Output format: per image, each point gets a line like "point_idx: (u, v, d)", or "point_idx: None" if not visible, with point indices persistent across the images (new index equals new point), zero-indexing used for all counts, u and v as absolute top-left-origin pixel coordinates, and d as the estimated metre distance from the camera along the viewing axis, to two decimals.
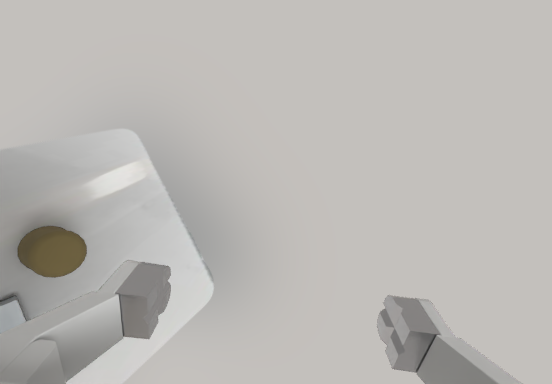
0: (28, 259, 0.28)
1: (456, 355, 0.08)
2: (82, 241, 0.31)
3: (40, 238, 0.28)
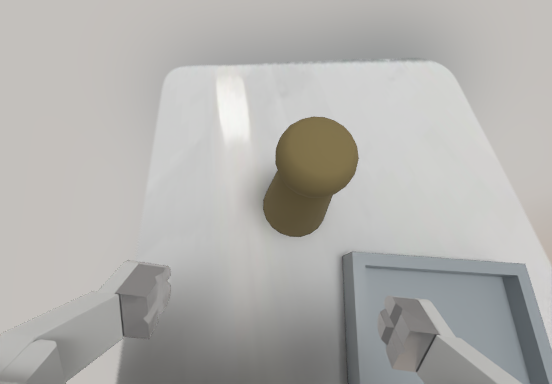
0: (310, 189, 0.15)
1: (456, 355, 0.08)
2: None
3: (281, 162, 0.16)
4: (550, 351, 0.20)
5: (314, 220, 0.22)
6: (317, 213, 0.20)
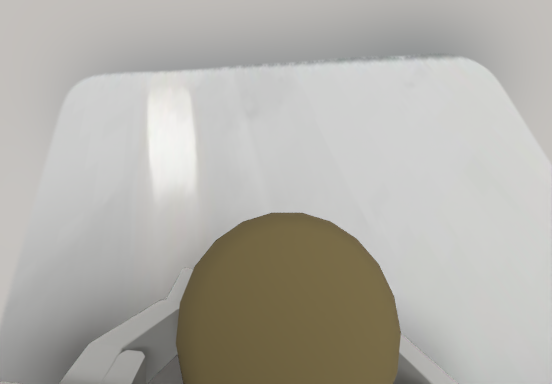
0: None
1: None
2: (271, 216, 0.06)
3: (182, 372, 0.05)
4: None
5: None
6: None
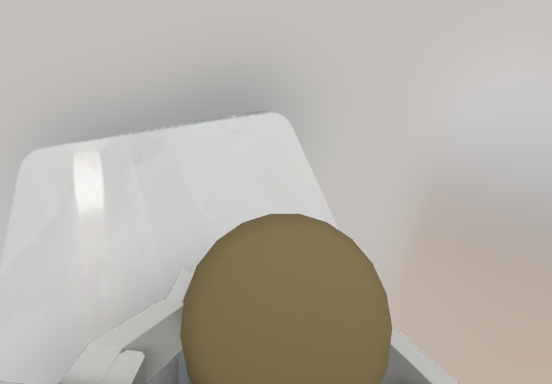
0: None
1: None
2: (270, 217, 0.07)
3: (186, 363, 0.06)
4: None
5: None
6: None
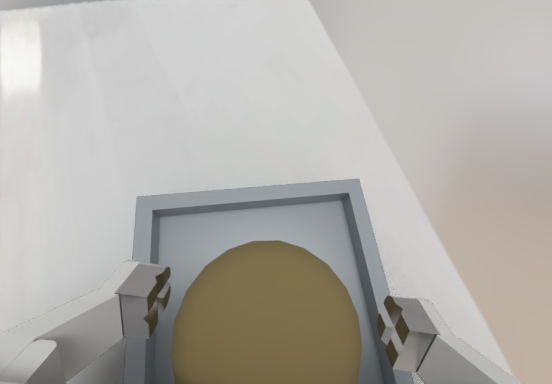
0: None
1: (456, 355, 0.08)
2: (252, 245, 0.07)
3: (175, 380, 0.06)
4: (382, 272, 0.16)
5: None
6: None
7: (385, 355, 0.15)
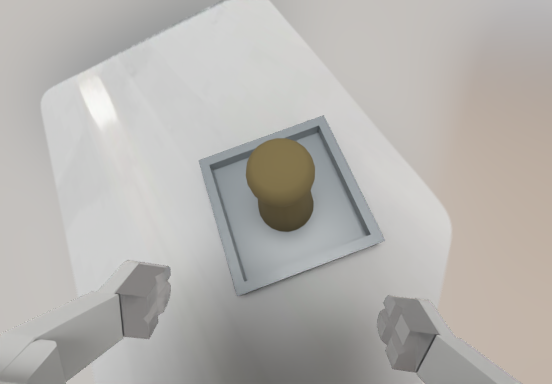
0: (280, 203, 0.19)
1: (456, 355, 0.08)
2: (266, 141, 0.20)
3: (252, 188, 0.19)
4: (346, 164, 0.28)
5: (302, 215, 0.25)
6: (301, 210, 0.24)
7: (356, 206, 0.27)
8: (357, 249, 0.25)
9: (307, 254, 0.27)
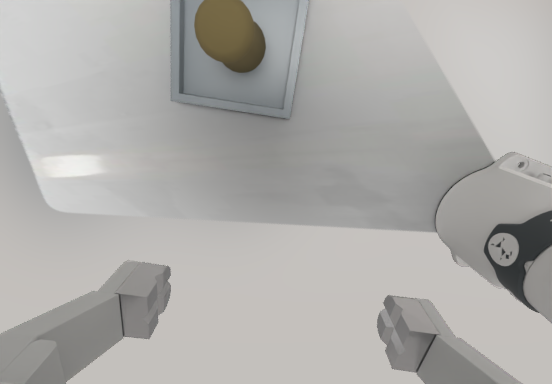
0: (250, 43, 0.23)
1: (456, 355, 0.08)
2: (195, 25, 0.22)
3: (229, 60, 0.23)
4: None
5: (259, 35, 0.29)
6: (257, 33, 0.27)
7: None
8: (307, 4, 0.29)
9: (288, 51, 0.32)
